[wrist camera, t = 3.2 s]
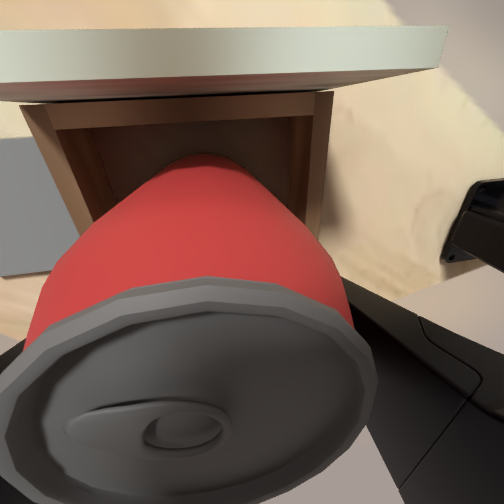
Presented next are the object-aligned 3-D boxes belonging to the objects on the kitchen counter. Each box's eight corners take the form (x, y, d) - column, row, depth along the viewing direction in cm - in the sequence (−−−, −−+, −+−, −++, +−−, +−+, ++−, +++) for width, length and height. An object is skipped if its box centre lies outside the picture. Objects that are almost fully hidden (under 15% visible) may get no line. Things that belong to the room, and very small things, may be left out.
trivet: (58, 135, 11) (53, 135, 11) (110, 259, 15) (107, 263, 14) (-100, 144, 10) (-113, 145, 10) (-6, 273, 14) (-12, 278, 14)
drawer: (308, 76, 12) (449, 25, 5) (296, 273, 18) (351, 371, 11) (54, 85, 10) (-236, 33, 4) (136, 295, 16) (87, 423, 10)
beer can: (165, 131, 12) (-166, 110, 1) (279, 178, 14) (505, 319, 3) (139, 244, 14) (-58, 558, 4) (240, 270, 16) (299, 524, 6)
